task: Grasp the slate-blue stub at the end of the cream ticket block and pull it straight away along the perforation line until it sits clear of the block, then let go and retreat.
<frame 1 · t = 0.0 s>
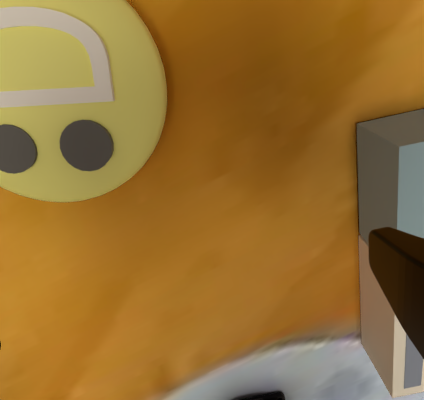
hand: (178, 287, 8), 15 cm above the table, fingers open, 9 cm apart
stub: (417, 189, 21), point 3 cm above the table, slide at 0.0 cm
emoji: (62, 86, 20), on the table
ticket block: (391, 287, 28), on the table
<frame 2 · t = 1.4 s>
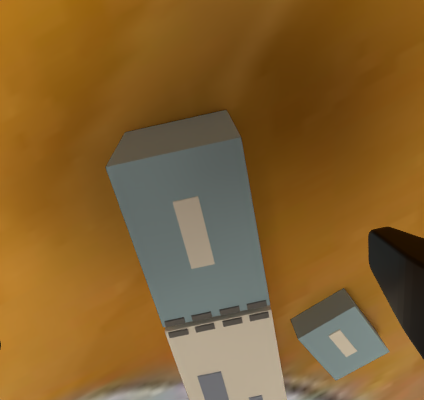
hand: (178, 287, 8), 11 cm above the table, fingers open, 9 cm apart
stub: (195, 216, 17), point 3 cm above the table, slide at 0.0 cm
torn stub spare: (332, 322, 24), on the table
ticket block: (227, 326, 23), on the table
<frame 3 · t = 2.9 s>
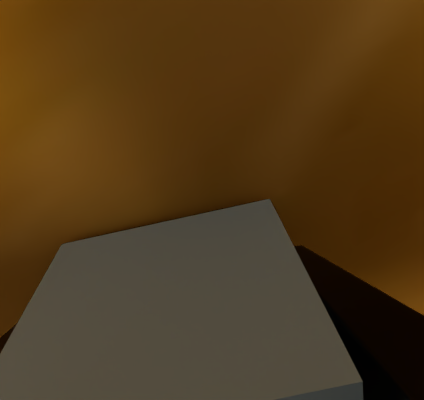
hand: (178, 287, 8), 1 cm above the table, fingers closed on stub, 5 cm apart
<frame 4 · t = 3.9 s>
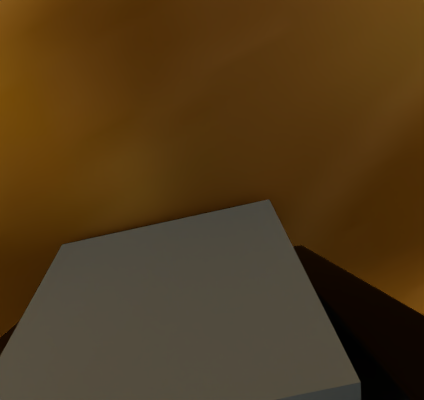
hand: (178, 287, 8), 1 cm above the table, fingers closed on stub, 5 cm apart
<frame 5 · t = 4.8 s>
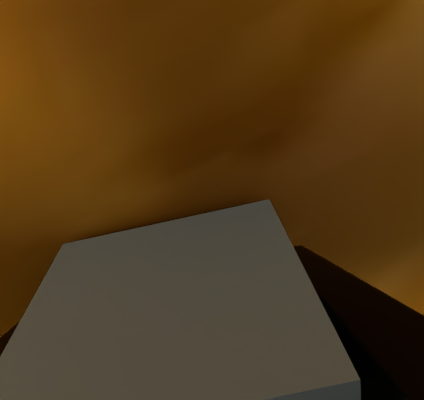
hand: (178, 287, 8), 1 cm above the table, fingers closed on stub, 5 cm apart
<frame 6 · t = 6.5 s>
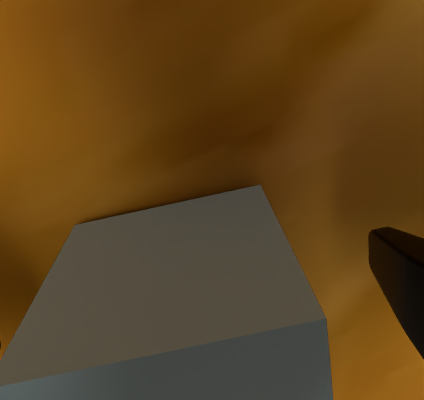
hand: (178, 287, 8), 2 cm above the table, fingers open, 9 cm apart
stub: (203, 387, 9), point 3 cm above the table, slide at 7.4 cm
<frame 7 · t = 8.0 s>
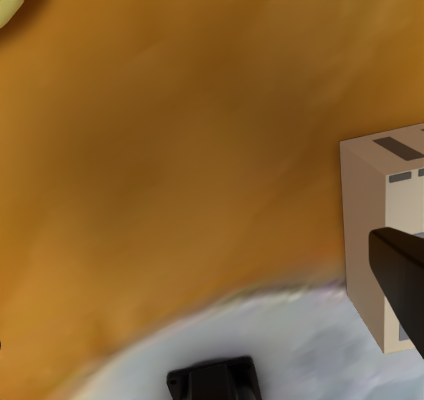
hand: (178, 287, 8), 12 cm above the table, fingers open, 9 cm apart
ticket block: (383, 217, 22), on the table
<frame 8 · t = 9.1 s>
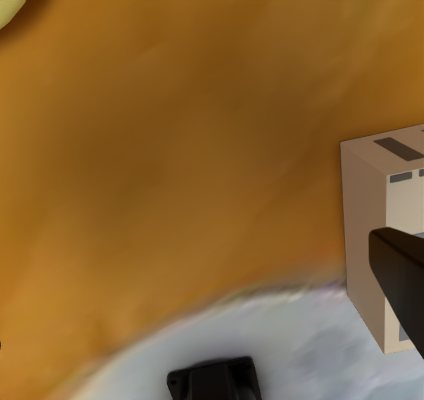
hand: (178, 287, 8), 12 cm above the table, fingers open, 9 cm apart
ticket block: (384, 218, 22), on the table
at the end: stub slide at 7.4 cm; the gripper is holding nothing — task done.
